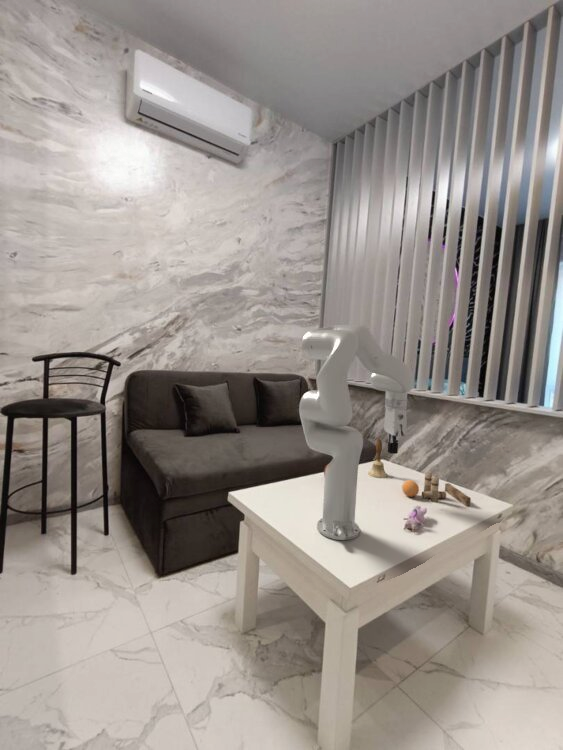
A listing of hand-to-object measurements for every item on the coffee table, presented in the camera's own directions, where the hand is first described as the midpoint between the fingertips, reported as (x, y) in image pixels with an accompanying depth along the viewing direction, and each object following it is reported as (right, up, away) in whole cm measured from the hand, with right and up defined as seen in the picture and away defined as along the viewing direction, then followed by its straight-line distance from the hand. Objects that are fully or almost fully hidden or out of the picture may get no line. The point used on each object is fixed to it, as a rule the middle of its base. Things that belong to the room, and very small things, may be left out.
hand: (392, 452), depth 131 cm
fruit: (-20, -15, +16) cm, 30 cm away
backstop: (+26, -18, +4) cm, 32 cm away
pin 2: (+15, -18, 0) cm, 24 cm away
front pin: (+12, -16, +2) cm, 21 cm away
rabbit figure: (+2, -19, -18) cm, 26 cm away
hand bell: (+2, -16, +26) cm, 30 cm away
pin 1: (+15, -18, +5) cm, 24 cm away
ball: (+8, -14, +3) cm, 17 cm away
